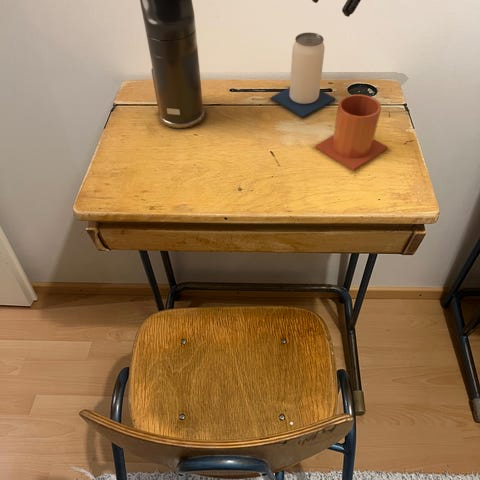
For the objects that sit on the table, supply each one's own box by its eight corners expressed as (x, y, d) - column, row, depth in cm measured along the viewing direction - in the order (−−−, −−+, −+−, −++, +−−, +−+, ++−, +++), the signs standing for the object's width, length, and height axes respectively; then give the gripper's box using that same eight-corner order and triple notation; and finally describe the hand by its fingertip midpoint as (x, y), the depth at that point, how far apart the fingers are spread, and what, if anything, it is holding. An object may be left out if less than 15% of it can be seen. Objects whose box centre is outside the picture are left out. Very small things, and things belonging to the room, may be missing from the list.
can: (288, 104, 100) (291, 45, 91) (290, 88, 104) (294, 30, 94) (318, 106, 100) (325, 47, 90) (319, 90, 103) (326, 32, 94)
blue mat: (270, 99, 103) (270, 96, 102) (302, 83, 106) (303, 80, 106) (302, 118, 98) (303, 115, 98) (335, 100, 102) (335, 98, 101)
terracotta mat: (315, 147, 92) (315, 145, 92) (349, 128, 96) (349, 125, 95) (353, 171, 88) (354, 168, 87) (387, 149, 91) (388, 147, 91)
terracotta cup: (323, 148, 92) (330, 105, 85) (349, 132, 95) (357, 89, 88) (352, 165, 89) (361, 122, 81) (378, 149, 91) (389, 106, 84)
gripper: (343, -106, 85) (294, -16, 90) (406, -90, 78) (349, 7, 84) (357, -77, 91) (310, 7, 96) (416, -59, 85) (363, 29, 90)
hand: (328, 7), depth 90 cm, fingers open, 8 cm apart
